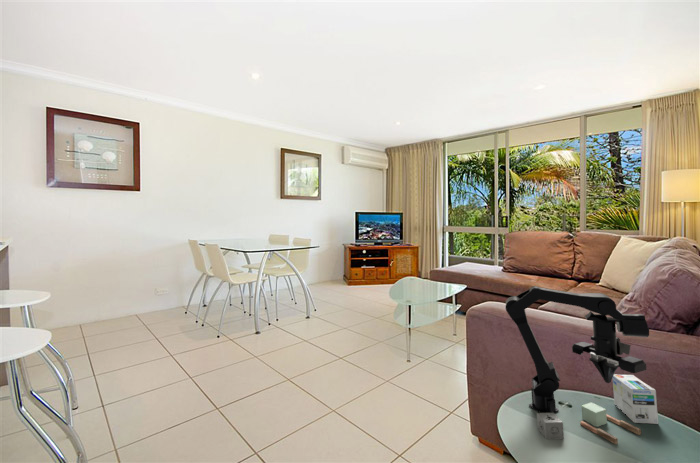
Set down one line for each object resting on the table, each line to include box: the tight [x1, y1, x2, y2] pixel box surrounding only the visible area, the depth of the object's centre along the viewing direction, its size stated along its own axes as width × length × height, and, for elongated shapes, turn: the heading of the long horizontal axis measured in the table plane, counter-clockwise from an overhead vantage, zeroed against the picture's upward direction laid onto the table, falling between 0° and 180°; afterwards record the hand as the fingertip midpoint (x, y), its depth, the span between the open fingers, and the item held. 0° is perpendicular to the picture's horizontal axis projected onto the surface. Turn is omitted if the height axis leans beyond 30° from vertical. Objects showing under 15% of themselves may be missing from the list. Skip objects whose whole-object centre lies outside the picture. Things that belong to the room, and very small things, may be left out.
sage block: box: [581, 402, 608, 428], centre depth 101 cm, size 4×4×4 cm
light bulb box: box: [612, 373, 659, 425], centre depth 104 cm, size 11×7×11 cm, turn 168°
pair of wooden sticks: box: [579, 413, 642, 445], centre depth 97 cm, size 10×11×2 cm
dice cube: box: [536, 412, 565, 440], centre depth 97 cm, size 5×5×5 cm
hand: (607, 382), depth 101 cm, fingers closed
